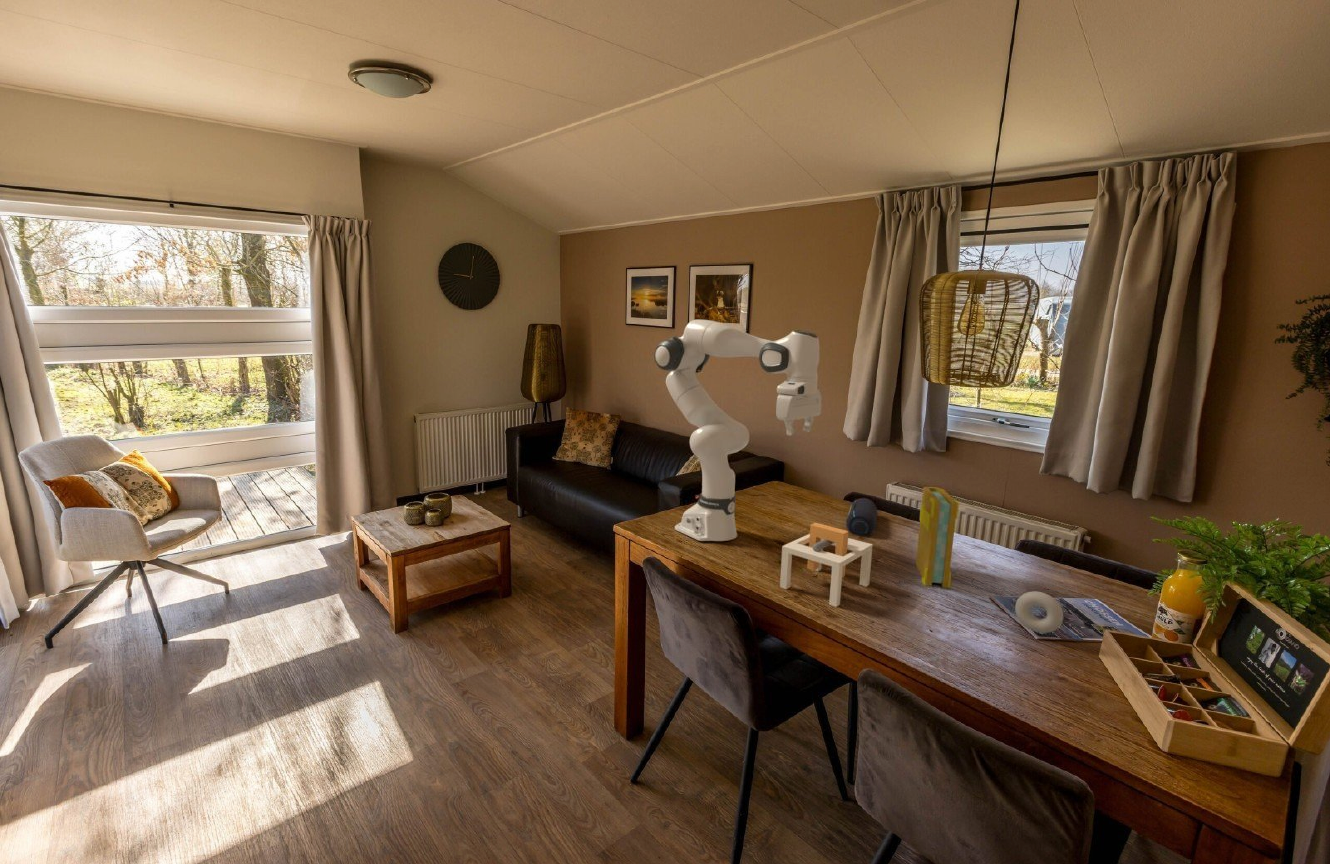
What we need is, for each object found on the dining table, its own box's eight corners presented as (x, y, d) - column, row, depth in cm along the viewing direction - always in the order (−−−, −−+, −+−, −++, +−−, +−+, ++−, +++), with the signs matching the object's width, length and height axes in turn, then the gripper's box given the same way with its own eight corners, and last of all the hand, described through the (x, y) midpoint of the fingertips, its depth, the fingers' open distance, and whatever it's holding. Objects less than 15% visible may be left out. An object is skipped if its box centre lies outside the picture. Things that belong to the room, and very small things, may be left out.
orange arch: (807, 568, 169) (810, 524, 167) (812, 565, 171) (815, 522, 169) (839, 579, 162) (843, 533, 160) (844, 576, 164) (848, 531, 162)
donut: (1061, 635, 142) (1067, 596, 140) (1059, 641, 139) (1064, 601, 138) (1014, 621, 149) (1019, 584, 147) (1011, 626, 146) (1016, 588, 144)
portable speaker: (849, 519, 230) (851, 494, 229) (876, 522, 227) (878, 497, 225) (844, 539, 207) (846, 511, 206) (874, 543, 204) (876, 515, 202)
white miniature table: (779, 587, 166) (782, 539, 163) (815, 567, 180) (818, 523, 178) (836, 606, 154) (840, 555, 152) (869, 584, 169) (873, 537, 167)
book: (949, 588, 168) (959, 502, 164) (924, 585, 169) (933, 500, 165) (935, 565, 184) (943, 487, 180) (912, 563, 186) (920, 486, 182)
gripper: (809, 384, 183) (806, 428, 186) (773, 387, 168) (770, 435, 171) (828, 386, 179) (824, 431, 181) (793, 389, 164) (789, 438, 167)
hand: (798, 433), depth 176 cm, fingers open, 8 cm apart
